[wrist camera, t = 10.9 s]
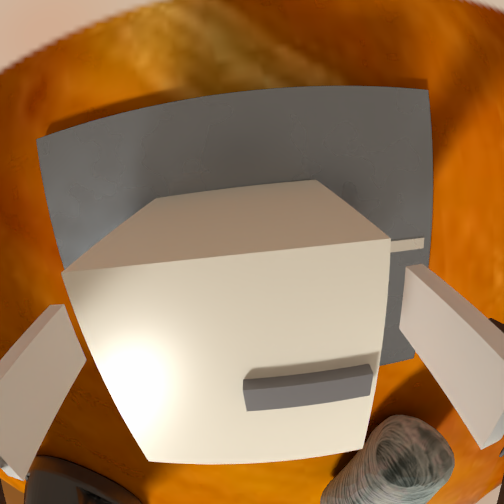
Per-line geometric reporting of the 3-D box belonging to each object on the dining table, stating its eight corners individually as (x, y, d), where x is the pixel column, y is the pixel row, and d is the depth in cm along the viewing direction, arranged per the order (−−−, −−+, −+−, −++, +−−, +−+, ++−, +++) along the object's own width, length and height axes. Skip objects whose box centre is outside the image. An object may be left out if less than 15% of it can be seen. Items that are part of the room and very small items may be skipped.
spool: (371, 421, 17) (438, 538, 10) (438, 384, 22) (492, 470, 15) (276, 478, 24) (319, 561, 18) (348, 448, 29) (386, 517, 23)
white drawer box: (185, 332, 17) (146, 469, 9) (156, 198, 15) (52, 280, 6) (321, 319, 17) (365, 457, 9) (316, 179, 14) (398, 244, 6)
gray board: (114, 380, 20) (89, 436, 15) (44, 138, 14) (-21, 147, 9) (408, 350, 19) (442, 404, 14) (420, 91, 14) (483, 82, 9)
